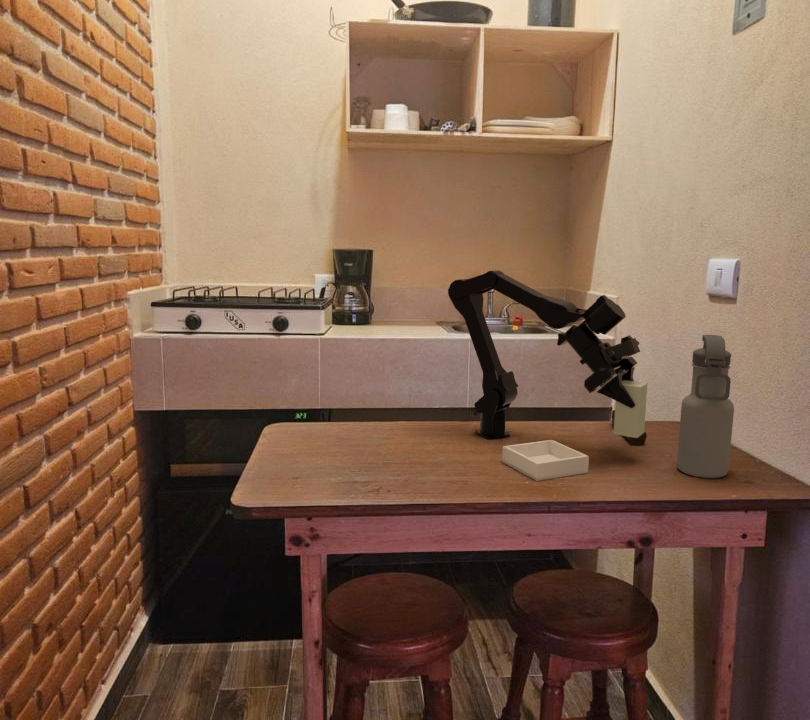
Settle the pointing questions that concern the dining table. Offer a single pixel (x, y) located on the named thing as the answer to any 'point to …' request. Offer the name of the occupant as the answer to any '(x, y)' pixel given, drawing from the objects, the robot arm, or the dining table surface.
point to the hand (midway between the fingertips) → (637, 404)
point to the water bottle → (707, 413)
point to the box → (545, 460)
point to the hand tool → (632, 441)
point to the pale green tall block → (631, 411)
